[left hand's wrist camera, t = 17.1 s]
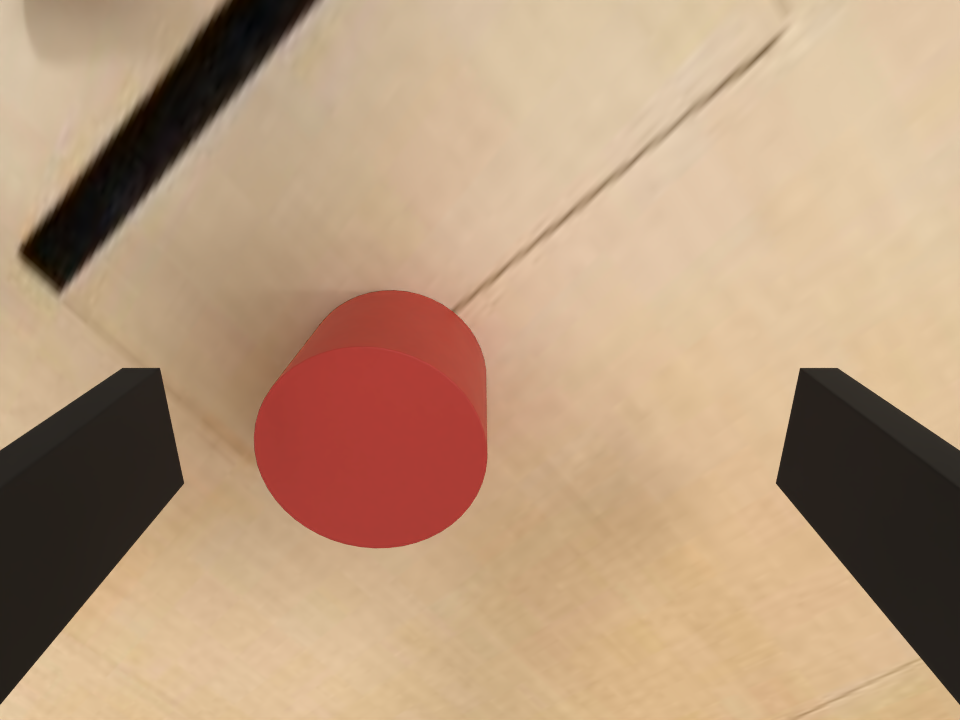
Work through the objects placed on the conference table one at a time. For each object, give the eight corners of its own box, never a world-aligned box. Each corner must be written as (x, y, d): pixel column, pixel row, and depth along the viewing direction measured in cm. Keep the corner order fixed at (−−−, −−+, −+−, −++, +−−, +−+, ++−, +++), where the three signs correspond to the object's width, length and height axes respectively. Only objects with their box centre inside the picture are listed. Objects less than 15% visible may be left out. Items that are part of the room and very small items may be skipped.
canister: (299, 286, 28) (240, 341, 21) (490, 293, 28) (492, 351, 22) (312, 451, 32) (265, 545, 25) (482, 457, 32) (482, 552, 25)
